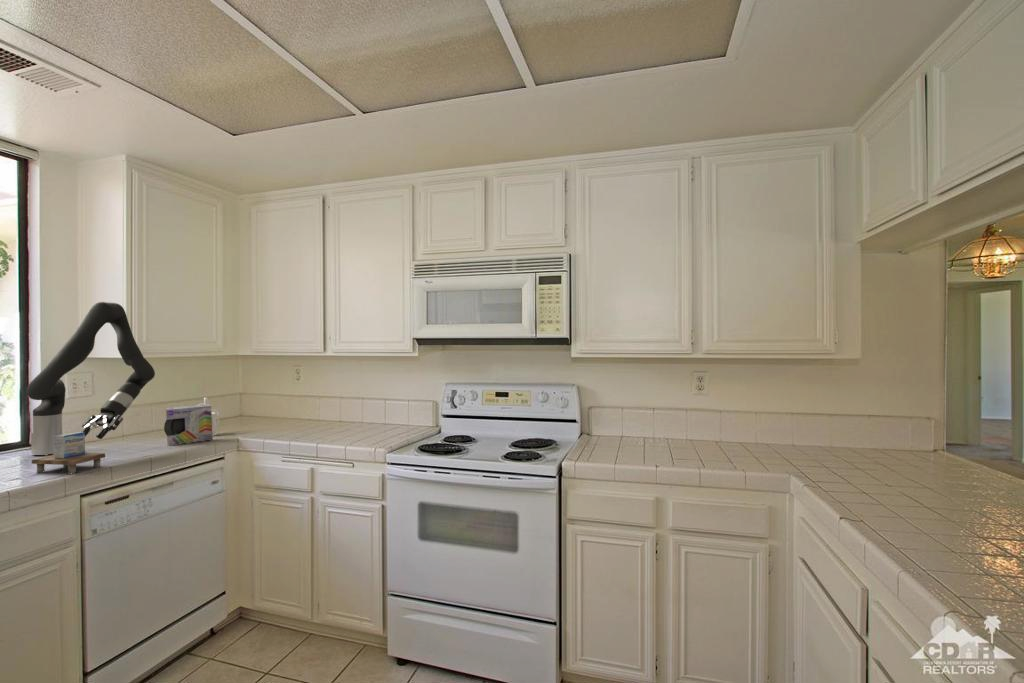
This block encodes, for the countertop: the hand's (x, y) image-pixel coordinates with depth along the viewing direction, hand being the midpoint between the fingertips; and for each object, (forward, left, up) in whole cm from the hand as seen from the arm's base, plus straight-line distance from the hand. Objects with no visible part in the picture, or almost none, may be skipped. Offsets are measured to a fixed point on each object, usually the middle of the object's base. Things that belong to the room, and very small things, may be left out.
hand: (89, 437), depth 188 cm
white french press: (+1, +58, -11) cm, 59 cm away
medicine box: (0, -7, -6) cm, 9 cm away
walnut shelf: (0, -8, -11) cm, 13 cm away
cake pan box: (+6, +41, -11) cm, 43 cm away
